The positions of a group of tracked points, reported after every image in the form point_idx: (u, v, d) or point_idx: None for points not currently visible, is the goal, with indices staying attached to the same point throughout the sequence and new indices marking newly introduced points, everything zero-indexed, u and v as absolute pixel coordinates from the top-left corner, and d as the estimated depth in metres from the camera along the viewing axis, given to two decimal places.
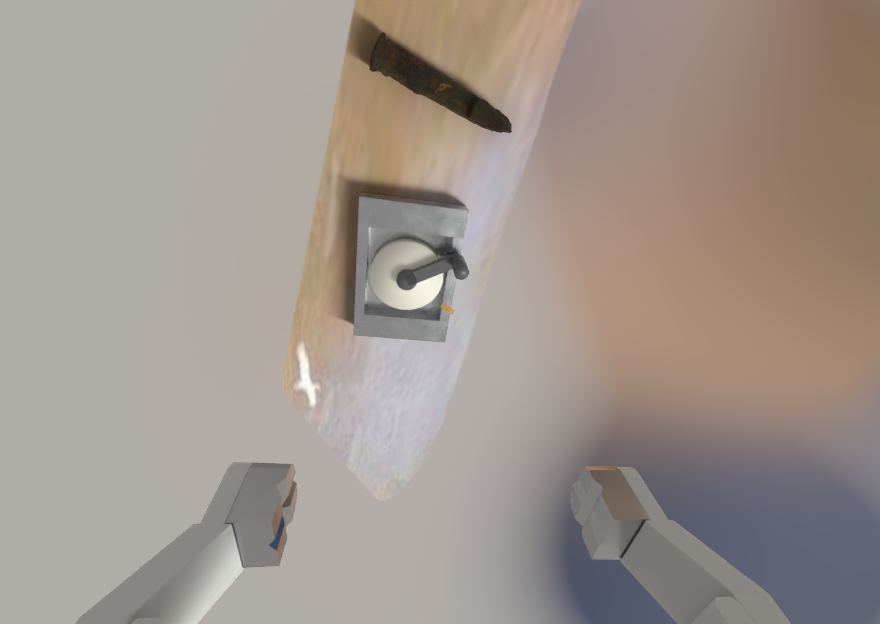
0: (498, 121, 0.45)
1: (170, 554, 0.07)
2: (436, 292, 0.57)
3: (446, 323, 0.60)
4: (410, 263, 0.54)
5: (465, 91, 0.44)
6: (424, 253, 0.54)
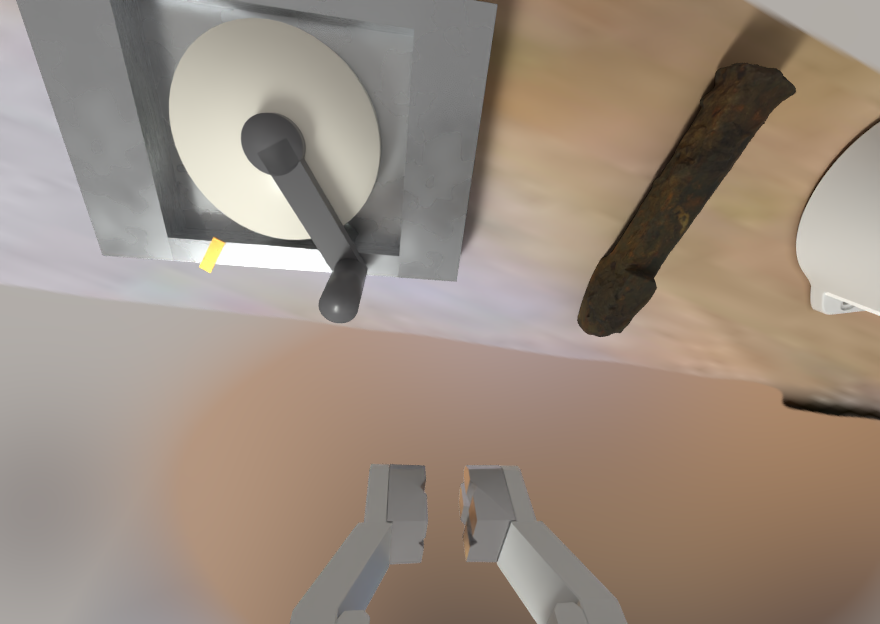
0: (620, 321, 0.26)
1: (349, 551, 0.08)
2: (252, 225, 0.22)
3: (166, 255, 0.23)
4: (322, 154, 0.21)
5: (665, 258, 0.26)
6: (354, 191, 0.22)
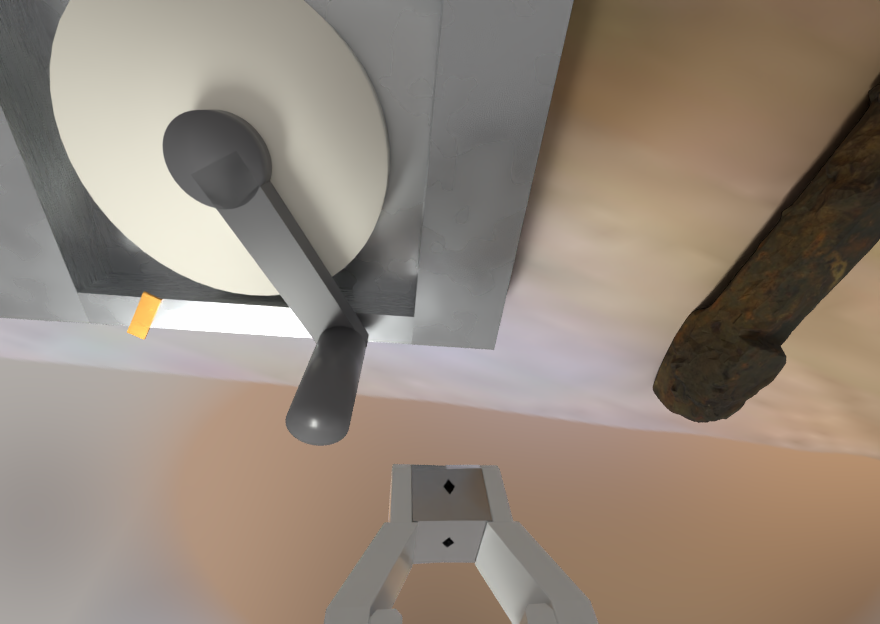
0: (728, 406, 0.19)
1: (377, 550, 0.08)
2: (199, 276, 0.15)
3: (78, 317, 0.16)
4: (298, 174, 0.13)
5: None
6: (348, 228, 0.15)
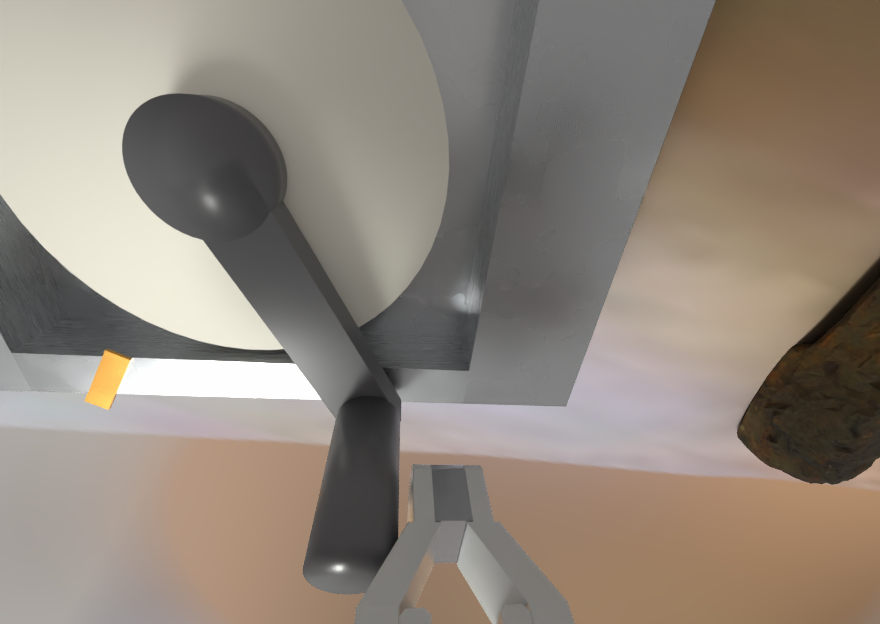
0: (855, 466, 0.15)
1: (403, 550, 0.08)
2: (175, 324, 0.11)
3: (15, 383, 0.12)
4: (324, 192, 0.10)
5: None
6: (386, 266, 0.11)
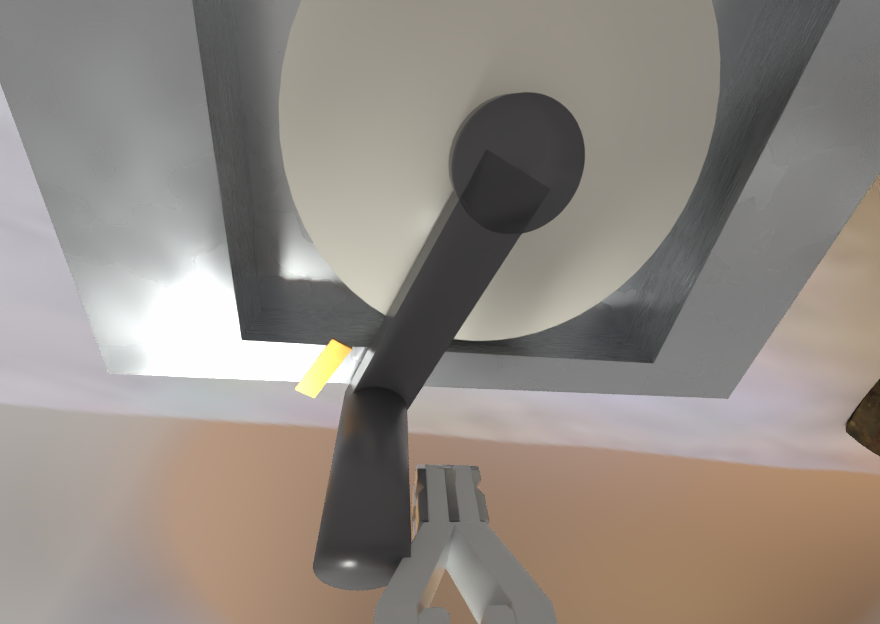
0: None
1: (419, 550, 0.08)
2: (305, 198, 0.09)
3: (234, 371, 0.12)
4: (530, 241, 0.11)
5: None
6: (501, 317, 0.12)
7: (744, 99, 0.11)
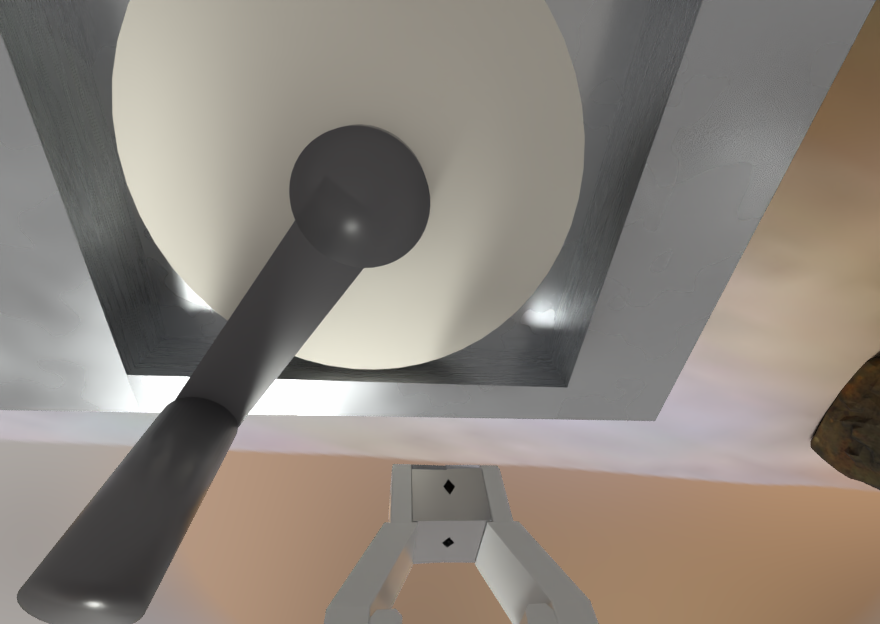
0: None
1: (377, 550, 0.08)
2: (141, 184, 0.09)
3: (126, 405, 0.12)
4: (392, 276, 0.10)
5: None
6: (359, 346, 0.11)
7: (630, 117, 0.10)
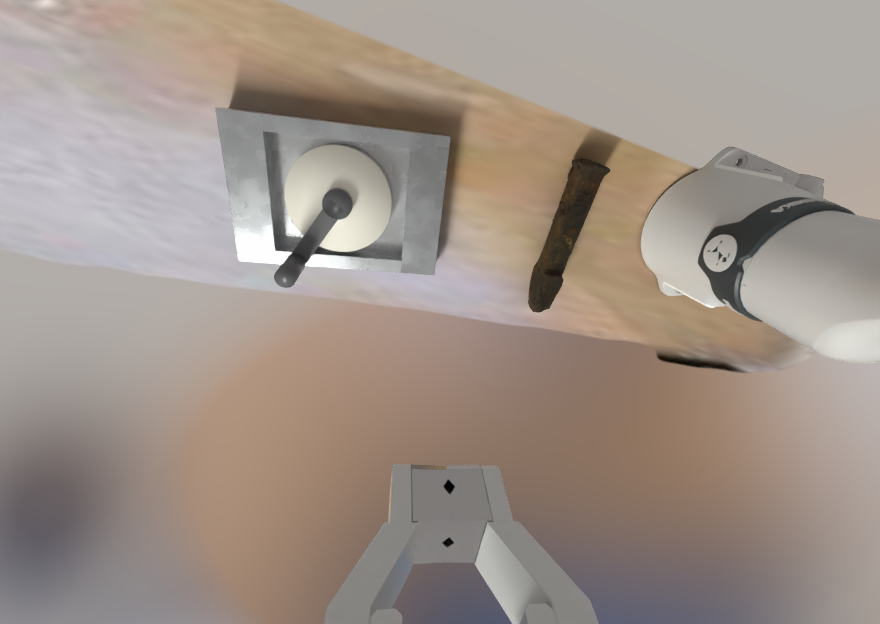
0: (546, 301, 0.46)
1: (377, 550, 0.08)
2: (288, 200, 0.38)
3: (272, 260, 0.41)
4: (346, 223, 0.40)
5: (566, 262, 0.45)
6: (338, 244, 0.41)
7: None
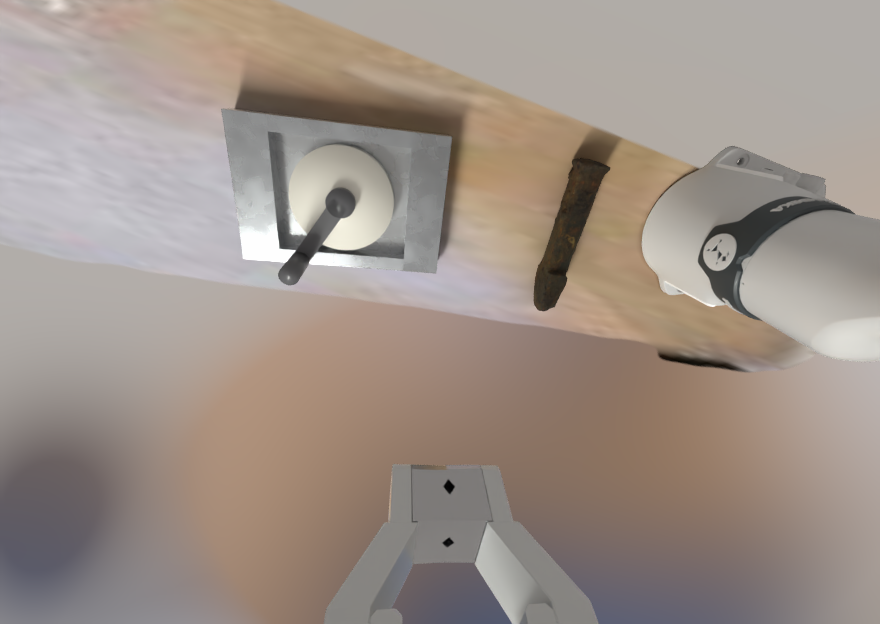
0: (551, 300, 0.46)
1: (377, 550, 0.08)
2: (292, 199, 0.39)
3: (277, 259, 0.42)
4: (349, 222, 0.41)
5: (569, 261, 0.45)
6: (341, 242, 0.42)
7: None
